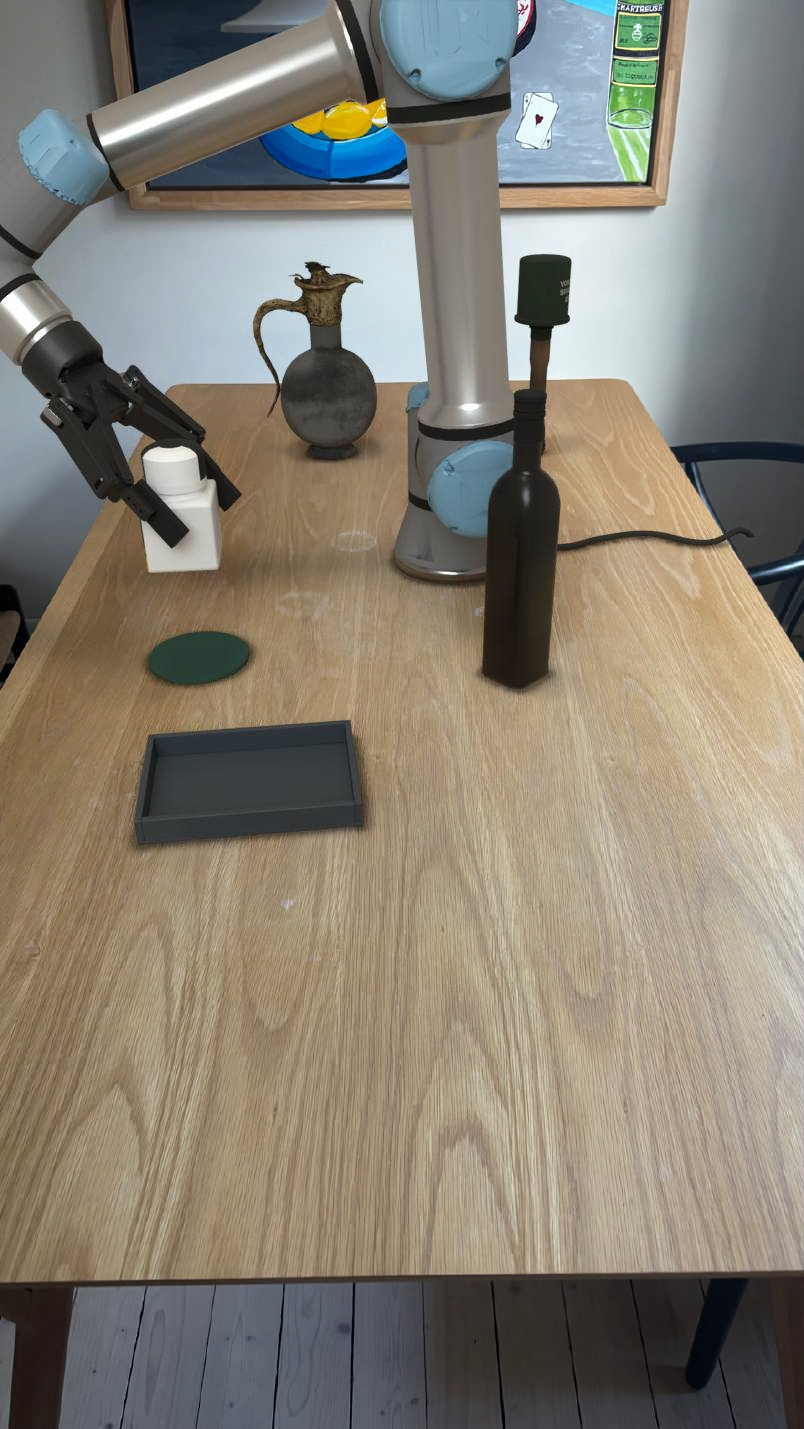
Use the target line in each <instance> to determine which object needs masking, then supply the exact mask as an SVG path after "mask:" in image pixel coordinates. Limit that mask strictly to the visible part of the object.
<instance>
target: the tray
mask: <svg viewBox="0 0 804 1429" xmlns="http://www.w3.org/2000/svg"><path fill="white" fill-rule="evenodd" d="M355 750H356V749H355V743H354V736H353V727H352V721H351V719H341V720H340V719H339V720H327V721H313V722H312V721H311V722H300V723H286V724H273V725H272V724H271V725H259V726H245V727H230V728H219V729H205V730H204V729H203V730H193V731H177V732H176V731H175V732H165V733H162V732H161V733H151V734H150V733H149V734H147V741H146V746H145V753H144V758H143V764H142V771H141V776H140V782H139V789H138V794H137V795H138V796H137V800H136V801H137V802H136V807H135V814H134V818H133V823H134V829H135V834H136V839H137V845H149V844H163V843H173V842H187V841H197V840H199V841H200V840H210V839H221V838H233V837H234V838H235V837H245V836H246V837H247V836H256V835H259V836H260V835H269V834H281V833H282V834H283V833H295V832H306V831H317V830H318V831H319V830H329V829H340V828H343V829H344V828H354V827H363V826H364V823H363V820H364V819H363V818H364V817H363V801H362V794H361V787H360V780H359V774H358V773H359V770H358V764H357V757H356V751H355Z"/></svg>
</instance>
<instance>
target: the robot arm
mask: <svg viewBox="0 0 804 1429" xmlns="http://www.w3.org/2000/svg"><path fill="white" fill-rule="evenodd" d="M519 12H520V11H519V3H518V0H328V3H327V5H326V7H325V10H324V13H322V15H320V16H317V17H315V18H312V19H310V20H307V21H305V22H303V23H301V24H298V25H296V26H293V27H291V28H288V29H285V30H284V31H281V32H279V33H276V34H275V35H272V36H269V37H267V38H264V39H263V40H260V41H257V42H255V43H253V44H250V45H248V46H245V47H243V48H241V49H239V50H235V51H234V52H232V53H229V54H227V55H224V56H221V57H219V58H217V59H215V60H212V61H209V62H207V63H205V64H203V65H200V66H198V67H195V68H193V69H190V70H188V71H186V72H184V73H181V74H179V75H176V76H174V77H171V78H169V79H167V80H164V81H162V82H160V83H156V84H155V85H153V86H150V87H148V88H146V89H142V90H141V91H138V92H136V93H134V94H131V95H129V96H126V97H124V98H122V99H119V100H116V101H115V102H112V103H109V104H107V105H105V106H103V107H100V108H98V109H95V110H93V111H91V112H90V113H87V114H84V115H80V116H79V117H76V118H73V119H72V120H71V119H69V118H68V117H67V116H66V115H65V114H63V113H61V112H60V111H58V110H56V109H55V108H54V109H53V108H46V109H43V110H42V111H41V112H40V113H39V114H37V116H36V117H35V118H34V119H33V121H32V122H30V123H29V124H27V125H26V127H24V128H22V130H21V131H20V132H19V134H18V137H17V138H16V139H15V141H14V142H13V143H12V145H11V146H10V147H9V148H8V150H6V152H5V153H4V155H3V156H2V157H1V159H0V350H1V351H2V352H3V353H4V354H5V356H6V357H7V358H8V359H9V360H10V361H11V362H12V363H13V364H14V366H16V367H20V368H21V374H22V375H23V376H24V378H26V380H27V381H28V382H29V383H30V384H31V385H32V386H33V387H34V389H36V390H37V392H39V394H40V395H41V396H42V397H43V398H45V399H46V400H49V401H48V402H47V404H46V406H45V407H44V408H43V410H42V411H41V413H40V414H39V418H40V420H41V422H42V423H44V424H45V426H46V427H48V429H49V430H51V431H52V432H53V434H55V436H56V437H57V439H58V440H59V442H60V443H61V445H62V446H63V447H64V449H65V450H66V452H67V454H68V455H69V457H70V458H71V460H72V462H73V463H74V464H75V466H76V467H77V469H78V471H79V472H80V474H81V476H82V477H83V478H84V480H85V481H86V483H87V485H88V486H89V487H90V489H91V490H92V492H93V494H94V495H95V496H96V497H97V498H98V499H99V500H102V501H103V500H106V499H108V501H110V503H113V504H117V503H118V502H120V500H122V501H123V502H124V503H125V505H126V506H128V507H129V509H130V510H131V511H132V512H133V513H134V514H135V516H137V518H138V519H139V518H140V519H141V520H142V521H144V522H147V523H148V524H149V525H150V526H151V527H152V528H153V529H154V531H155V532H156V533H157V534H158V535H159V536H160V537H161V538H162V539H163V540H164V541H165V543H166V544H167V545H168V546H169V547H170V548H171V549H172V548H173V547H175V546H176V545H177V544H178V543H179V542H180V541H181V540H182V539H183V538H184V536H185V535H186V534H187V533H188V532H189V531H190V530H189V529H188V528H187V526H186V525H185V524H184V523H183V522H182V521H181V520H180V519H179V518H178V517H177V515H176V514H175V513H174V512H173V511H172V510H171V509H170V508H169V507H168V506H167V505H166V503H165V502H164V501H163V500H162V499H161V498H160V497H159V496H158V495H157V494H156V492H155V491H154V490H153V489H152V488H151V487H150V486H149V485H148V484H147V483H146V481H145V480H144V477H142V478H140V479H138V480H137V481H136V482H135V477H134V475H133V472H132V470H131V468H130V465H129V463H128V461H127V458H126V456H125V453H124V450H123V448H122V446H121V444H120V441H119V439H118V437H117V434H116V432H115V430H114V427H113V424H116V423H118V424H120V425H122V426H123V427H132V428H134V429H136V430H137V431H138V432H140V433H142V434H144V435H146V436H147V437H148V438H150V439H152V440H153V441H154V442H156V441H159V440H163V439H171V438H181V439H187V440H191V441H194V442H196V443H198V444H199V445H200V446H201V447H202V448H203V446H202V443H203V442H205V440H206V434H207V431H206V428H204V426H202V425H201V424H200V423H199V422H198V421H196V420H195V419H194V418H193V417H191V416H190V415H189V413H187V412H185V410H183V409H182V408H181V407H180V406H179V405H177V404H176V403H175V402H174V401H173V400H172V399H170V398H169V397H168V396H167V395H166V394H165V393H163V391H161V390H160V389H159V388H158V387H157V386H155V385H154V384H153V383H152V382H150V381H149V379H148V378H147V377H146V376H145V374H144V373H143V372H142V370H141V369H140V368H139V367H138V366H137V365H135V364H130V365H129V366H128V367H127V369H126V371H123V372H118V371H117V370H114V369H113V368H112V367H110V366H109V365H108V364H107V363H106V362H105V360H104V348H103V346H102V345H101V344H100V342H99V341H98V340H97V339H96V338H95V337H94V336H93V334H91V332H90V331H89V330H88V329H87V328H86V327H85V326H84V325H83V323H82V322H81V321H79V320H74V314H73V311H71V308H69V307H68V306H67V305H66V304H65V303H64V302H63V301H62V300H61V298H60V297H59V296H58V295H57V294H56V293H55V292H54V291H53V290H52V289H51V287H50V286H48V284H47V283H46V282H45V281H44V280H43V279H42V278H41V277H40V275H38V274H37V272H36V271H35V269H34V268H33V265H34V264H35V263H36V262H37V261H38V260H39V259H41V257H42V256H43V255H44V253H45V251H46V250H47V249H48V248H49V247H50V246H52V244H53V243H54V242H55V241H56V239H58V237H59V236H60V235H61V234H62V233H63V232H64V231H65V230H66V229H67V227H69V225H70V224H71V223H72V222H73V221H74V220H75V219H76V218H77V217H78V216H79V215H80V214H81V213H82V212H83V211H84V210H85V209H86V208H88V207H90V206H93V205H95V204H98V203H100V202H102V201H105V200H107V199H111V198H112V197H114V196H117V195H120V194H122V193H124V192H126V191H129V190H131V189H132V188H135V187H138V186H140V185H142V184H145V183H148V182H150V181H153V180H155V179H158V178H160V177H162V176H164V175H168V174H170V173H172V172H175V171H177V170H179V169H182V168H184V167H187V166H190V165H192V164H195V163H197V162H199V161H202V160H204V159H206V158H209V157H212V156H214V155H217V154H219V153H222V152H224V151H227V150H229V149H232V148H234V147H236V146H239V145H241V144H244V143H246V142H248V141H251V140H254V139H256V138H259V137H261V136H263V135H266V134H268V133H271V132H274V131H276V130H279V129H281V128H284V127H285V126H288V125H291V124H293V123H296V122H298V121H301V120H303V119H305V118H308V117H311V116H313V115H315V114H318V113H320V112H323V111H325V110H328V109H330V108H332V107H335V106H337V105H340V104H343V103H345V102H348V101H353V102H354V103H357V104H359V105H360V106H362V107H365V106H367V105H371V104H372V103H375V102H377V101H379V100H383V99H384V103H385V115H386V122H387V127H388V128H389V129H390V131H392V132H393V134H395V135H396V136H397V137H398V138H399V139H400V140H402V142H403V144H404V146H405V153H406V162H407V164H406V165H407V173H408V185H409V193H410V194H409V195H410V206H411V217H412V224H413V225H412V228H413V237H414V238H413V239H414V248H415V257H416V270H417V280H418V281H417V282H418V289H419V300H420V302H419V303H420V310H421V322H422V332H423V342H424V343H423V344H424V350H425V351H424V352H425V362H426V363H425V365H426V373H427V374H426V375H427V381H421V382H419V383H416V384H414V385H412V386H411V387H410V388H409V390H408V393H407V402H406V403H407V404H406V407H405V413H406V414H407V506H406V509H405V512H404V515H403V518H402V520H401V524H400V527H399V530H398V534H397V537H396V540H395V543H394V562H395V565H396V566H397V567H398V568H399V569H400V570H401V571H402V572H403V573H405V574H407V575H409V576H411V577H414V578H417V579H420V580H423V581H428V582H431V583H432V582H433V583H439V584H465V583H467V584H469V583H475V582H480V581H485V574H486V546H487V518H488V501H489V496H490V493H491V490H492V487H493V486H494V484H495V483H496V481H497V479H498V478H500V477H501V476H502V475H503V474H504V473H505V472H506V471H507V470H509V469H510V468H511V467H512V460H513V441H514V440H513V436H514V418H515V417H514V416H513V410H514V393H515V391H513V390H512V389H511V387H510V378H509V375H510V374H509V358H508V340H507V339H508V338H507V317H506V299H505V281H504V280H505V279H504V276H505V275H504V260H503V258H504V257H503V240H502V219H501V218H502V217H501V199H500V181H499V180H500V179H499V163H498V162H499V161H498V142H497V141H498V140H497V135H498V132H499V130H500V129H501V127H502V125H503V124H504V123H505V121H506V120H507V119H508V117H509V116H510V115H511V113H512V84H511V65H510V64H511V60H512V58H513V55H514V51H515V49H516V43H517V40H518V34H519V22H520V14H519ZM130 404H131V405H130ZM203 451H204V459H205V468H206V476H207V480H209V479H213V480H215V481H216V487H217V496H218V505H219V509H221V510H222V511H223V512H224V513H225V512H227V511H228V510H229V509H230V508H231V507H232V506H233V505H235V503H236V502H237V501H238V500H239V499H240V498H241V497H242V496H243V493H242V492H241V491H240V490H239V489H238V488H237V487H236V486H235V484H234V483H233V482H232V481H231V480H230V479H229V478H228V476H226V474H225V473H223V471H222V469H221V467H220V465H219V464H218V463H217V461H215V460H214V459H213V458H212V456H210V454H209V453H208V452H207V451H206V450H205V449H204V448H203ZM101 479H102V480H101ZM140 519H139V520H140ZM739 534H742V535H744V536H745V537H746V538H755V535H754V533H753V532H752V531H751V530H750V529H748V528H746V527H734V528H733V529H730V530H728V531H727V532H725V533H724V534H722V535H719V536H717V537H714V538H709V539H696V538H690V537H684V536H680V535H677V534H672V533H669V532H665V531H664V532H663V531H658V530H625V531H619V532H613V533H607V534H600V535H596V536H590V537H588V538H584V539H581V540H577V541H574V542H573V541H572V542H567V543H558V547H557V551H567V550H575V549H578V548H582V547H585V546H589V545H593V544H596V543H601V542H607V541H613V540H619V539H626V538H638V537H639V538H640V537H641V538H646V537H647V538H658V539H664V540H668V541H671V542H675V543H678V544H679V543H680V544H684V545H688V546H697V547H711V546H715V545H718V544H722V543H724V542H725V541H727V540H729V539H730V538H732V537H734V536H736V535H739Z"/></svg>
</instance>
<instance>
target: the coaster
mask: <svg viewBox="0 0 804 1429" xmlns="http://www.w3.org/2000/svg"><path fill="white" fill-rule="evenodd" d="M249 657H250V651H249V647H248V645H247V643H246V642H245V641H244V640H243V639H241V638H240V637H239V636H236V635H233V634H230V633H226V632H222V631H214V630H212V631H211V630H209V631H208V630H204V631H193V632H187V633H182V634H179V635H175V636H172V637H171V638H168V639H166V640H164V641H162V642H160V643H159V644H158V645H156V646H155V647H154V648H153V649H152V650H151V652H150V653H149V655H148V661H147V663H148V667H149V670H150V671H151V672H152V674H153V675H155V676H156V677H157V678H159V679H161V680H163V681H167V682H170V683H175V684H181V685H200V684H207V683H212V682H217V681H220V680H223V679H226V678H228V677H230V676H232V675H234V674H236V673H237V672H239V671H241V669H242V668H243V667H244V666H245V665H246V664H247V663H248V661H249Z"/></svg>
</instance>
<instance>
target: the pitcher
mask: <svg viewBox="0 0 804 1429" xmlns="http://www.w3.org/2000/svg"><path fill="white" fill-rule="evenodd" d="M303 264H305V265H304V268H305V269H307V270H308V272H309V274H310V277H308V278H305V277H304V276H302V275H301V274H299V273H294V274H289V275H288V277H294V280H293V284H294V285H295V286H296V287H297V288H300V290H301V291H302V292H301V296H300V297H299V298H298V299H297V300H287V299H283V298H271V299H269V300H266V301H264V302H263V303H261V304H260V305H259V306H258V308H257V310H256V312H255V314H254V316H253V320H252V332H253V333H252V334H253V338H254V340H255V343H256V346H257V348H258V351H259V355H260V356H261V358H262V359H263V361H264V363H265V365H266V367H267V369H268V370H269V372H270V373H271V375H272V378H273V381H274V383H275V385H276V387H275V395H274V399H273V402H272V403H271V405H270V408H269V409H268V412H267V419H269V417H270V416H271V414H272V413H273V411H274V409H275V406H276V404H277V403H278V399H279V397H280V406H281V410H282V414H283V417H284V419H285V422H286V423H287V425H288V427H289V429H290V430H291V432H293V433H294V435H295V436H296V437H298V438H299V439H300V440H302V441H303V442H305V443H307V444H309V446H308V449H307V453H308V455H309V456H310V457H311V458H314V459H319V460H331V461H333V460H340V459H345V458H349V457H351V456H353V455H355V453H356V446H355V445H354V444H353V443H354V442H356V441H358V440H359V439H361V437H363V436H364V435H365V434H366V433H367V432H368V430H369V429H370V427H371V426H372V423H373V422H374V419H375V416H376V411H377V408H378V407H377V406H378V392H377V390H378V389H377V385H376V381H375V378H374V375H373V373H372V371H371V369H370V367H369V365H368V364H367V363H366V362H365V361H364V360H363V358H362V357H361V356H359V355H358V354H356V352H353V351H351V350H348V349H346V348H344V347H343V344H342V320H343V308H342V302H343V297H344V295H345V293H346V292H347V289H348V288H349V287H350V286H351V285H353V284H361V285H363V284H364V280H363V279H360V278H359V277H356V276H354V275H350V274H348V273H344V272H340V273H339V272H338V273H332V274H331V273H330V272H328V270H326V269H330V268H332V267H331V265H325V264H323V263H322V262H321V263H320V262H318V261H314V260H313V261H304V263H303ZM277 310H281V311H285V312H289V313H298V314H301V315H303V316H304V317H305V318H306V321H307V323H308V325H309V339H310V348H309V349H307V350H305V351H303V352H302V353H300V354H298V355H297V356H295V358H293V360H291V362H290V363H289V365H288V366H287V367H286V369H285V372H284V373H283V376H282V379H281V383H280V378H279V375H278V372H277V370H276V369H275V366H274V364H273V363H272V361H271V359H270V357H269V356H268V354H267V352H266V350H265V345H264V344H265V343H264V342H263V338H262V333H261V332H262V331H261V329H262V328H261V326H262V321H263V319H264V317H265V316H266V315H268V314H269V313H271V312H274V311H277Z"/></svg>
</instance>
